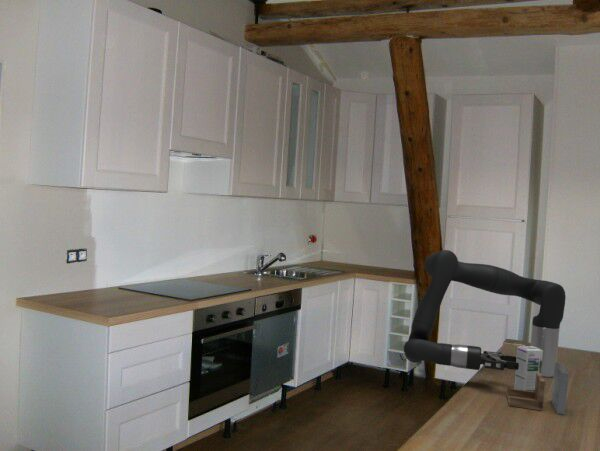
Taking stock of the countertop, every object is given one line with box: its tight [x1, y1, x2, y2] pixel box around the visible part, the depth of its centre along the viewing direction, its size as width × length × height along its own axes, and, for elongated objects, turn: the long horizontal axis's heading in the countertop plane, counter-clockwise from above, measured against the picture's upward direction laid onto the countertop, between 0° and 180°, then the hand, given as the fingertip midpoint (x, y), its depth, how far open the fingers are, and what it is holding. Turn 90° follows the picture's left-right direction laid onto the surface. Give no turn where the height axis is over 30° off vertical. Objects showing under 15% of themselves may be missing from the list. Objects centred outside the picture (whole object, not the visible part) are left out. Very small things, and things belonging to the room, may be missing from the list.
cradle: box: [506, 372, 546, 411], centre depth 193 cm, size 10×9×8 cm
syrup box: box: [513, 345, 543, 392], centre depth 205 cm, size 6×6×14 cm
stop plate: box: [551, 362, 569, 416], centre depth 191 cm, size 12×2×12 cm, turn 166°
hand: (517, 363), depth 206 cm, fingers open, 8 cm apart
